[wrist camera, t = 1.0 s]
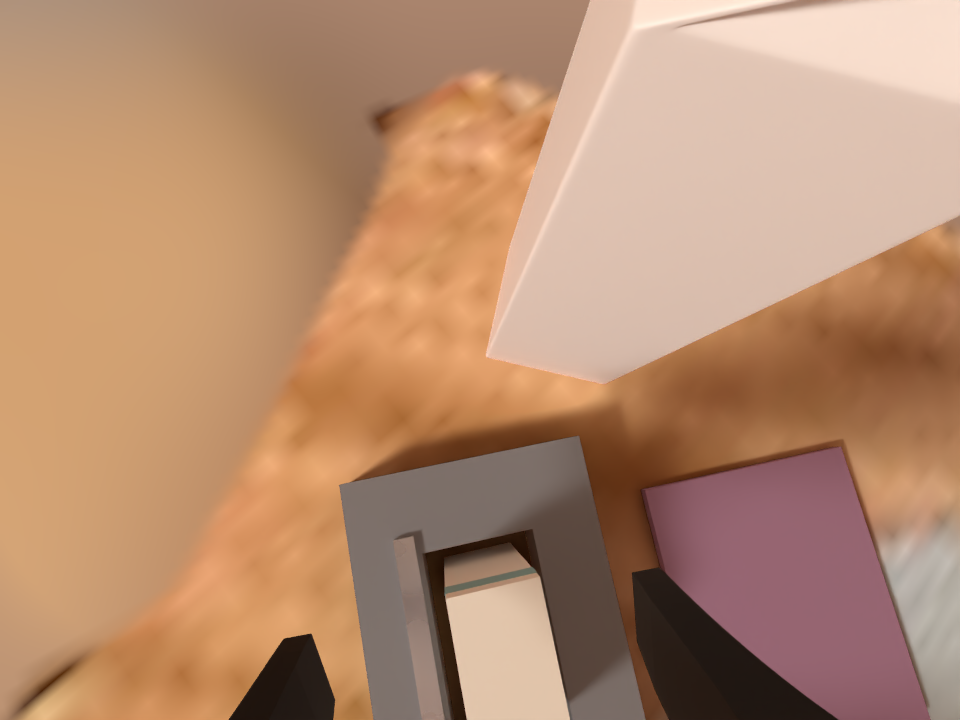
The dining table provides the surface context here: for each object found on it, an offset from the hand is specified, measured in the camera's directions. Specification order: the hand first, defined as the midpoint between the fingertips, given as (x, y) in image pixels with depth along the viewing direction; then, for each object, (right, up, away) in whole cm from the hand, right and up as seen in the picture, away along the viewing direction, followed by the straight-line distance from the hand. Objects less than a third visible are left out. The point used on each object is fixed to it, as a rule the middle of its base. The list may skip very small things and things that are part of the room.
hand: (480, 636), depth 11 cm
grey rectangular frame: (0, -5, +11) cm, 12 cm away
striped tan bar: (0, -5, +11) cm, 12 cm away
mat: (+14, -5, +12) cm, 19 cm away
